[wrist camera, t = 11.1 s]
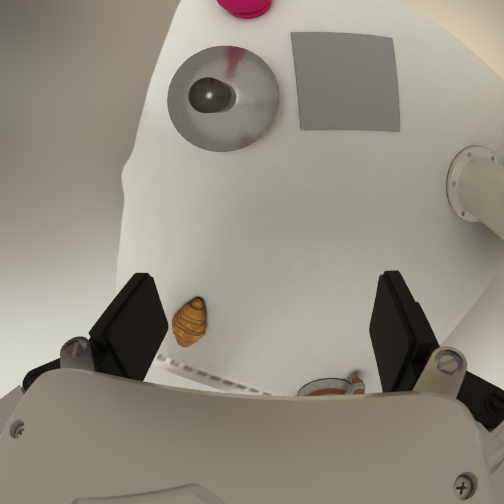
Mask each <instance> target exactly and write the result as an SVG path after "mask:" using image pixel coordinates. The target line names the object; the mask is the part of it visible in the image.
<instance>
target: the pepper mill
mask: <svg viewBox="0 0 504 504" xmlns="http://www.w3.org/2000/svg"><path fill="white" fill-rule="evenodd" d="M217 2H218V3H219V4H220V5H221V6H222V7H223V8H225V9H227V10H228V11H229V12H230V13H231V14H232V15H234V16H236V17H239V18H244V19H250V18H255V17H258V16H261V15H262V14H264V13H265V12H266V11H267V10H268V9H269V8H270V6H271V2H272V0H217Z"/></svg>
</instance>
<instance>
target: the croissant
mask: <svg viewBox="0 0 504 504" xmlns="http://www.w3.org/2000/svg"><path fill="white" fill-rule="evenodd" d="M205 320H206V315H205V308H204V302H203V299H201V298H198V297H196V298H195V299H194V300H192V301H191V302H190V303H188V304H187V305H186V306H184V307H183V308H182V309H181V311H180V312H179V313H177V314H176V315H175V316H174V318H173V319H172V327H173V334H174V335H175V337H176V340H177V342H178V344H179V345H180V346H182V347H188V346H190V345H192V344H193V343H195V342H196V341H197V340H198V339H200V338H201V337H202V336H203V335H204V334H205V327H206V326H205Z"/></svg>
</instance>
